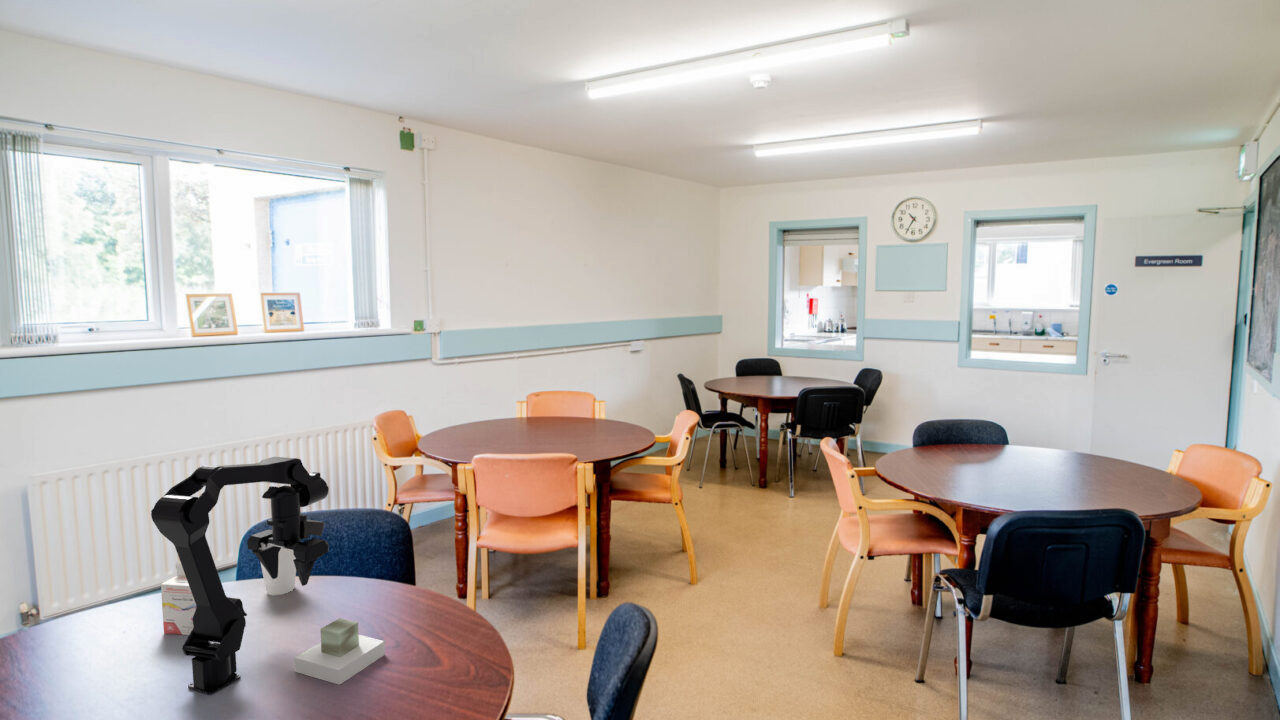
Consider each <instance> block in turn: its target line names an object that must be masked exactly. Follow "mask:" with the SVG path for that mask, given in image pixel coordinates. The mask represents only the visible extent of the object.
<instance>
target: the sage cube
mask: <svg viewBox="0 0 1280 720" xmlns="http://www.w3.org/2000/svg"><path fill="white" fill-rule="evenodd" d="M359 635H360V634H359V622H357V621H355V620H349V619H345V618H341V617H339V618H338V619H335V620H334V621H332V622H331V623H329V624H327V625H325V626H323V627H321V628H320V642H321V652H322V653H326V654H329V655H333V656H337V657H341V656H343V655H345V654H346V653H348V652H349V651H351V650H353V649H354V648H356V647H358V646H359Z"/></svg>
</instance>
